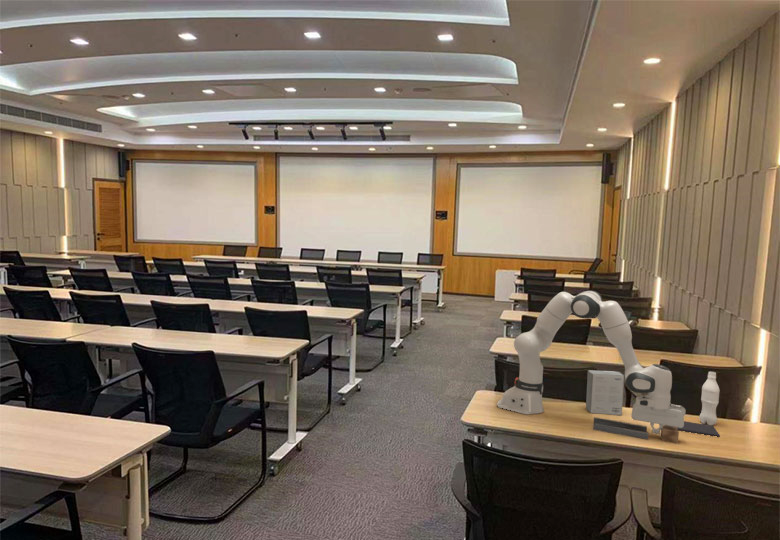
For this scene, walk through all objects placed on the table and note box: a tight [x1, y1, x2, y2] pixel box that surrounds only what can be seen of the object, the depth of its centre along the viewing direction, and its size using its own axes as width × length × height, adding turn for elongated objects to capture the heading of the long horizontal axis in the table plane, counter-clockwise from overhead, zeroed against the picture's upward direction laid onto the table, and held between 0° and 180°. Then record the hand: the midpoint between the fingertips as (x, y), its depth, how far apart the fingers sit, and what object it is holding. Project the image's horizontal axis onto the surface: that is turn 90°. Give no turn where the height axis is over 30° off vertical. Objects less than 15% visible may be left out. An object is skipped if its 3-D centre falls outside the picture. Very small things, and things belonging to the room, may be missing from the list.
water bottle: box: [699, 371, 721, 426], centre depth 238 cm, size 7×7×25 cm
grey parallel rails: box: [592, 416, 649, 441], centre depth 224 cm, size 22×10×2 cm, turn 66°
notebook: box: [665, 420, 720, 438], centre depth 232 cm, size 13×2×21 cm
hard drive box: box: [585, 369, 625, 416], centre depth 248 cm, size 16×8×20 cm, turn 84°
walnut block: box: [660, 425, 680, 444], centre depth 216 cm, size 6×6×5 cm
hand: (655, 433), depth 218 cm, fingers closed
